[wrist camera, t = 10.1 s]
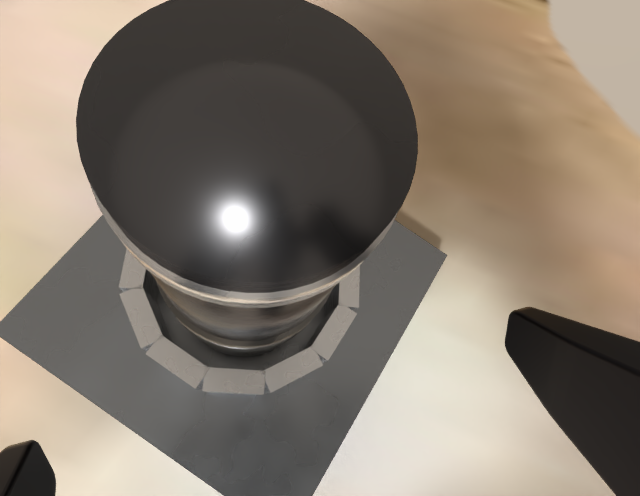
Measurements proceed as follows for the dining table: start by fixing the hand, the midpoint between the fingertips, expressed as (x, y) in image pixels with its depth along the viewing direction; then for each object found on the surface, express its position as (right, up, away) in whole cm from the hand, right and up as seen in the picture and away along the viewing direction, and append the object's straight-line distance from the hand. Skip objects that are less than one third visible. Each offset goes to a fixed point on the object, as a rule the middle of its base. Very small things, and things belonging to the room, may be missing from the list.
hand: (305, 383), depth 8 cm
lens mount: (-3, 0, +12) cm, 13 cm away
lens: (-3, +1, +11) cm, 12 cm away
